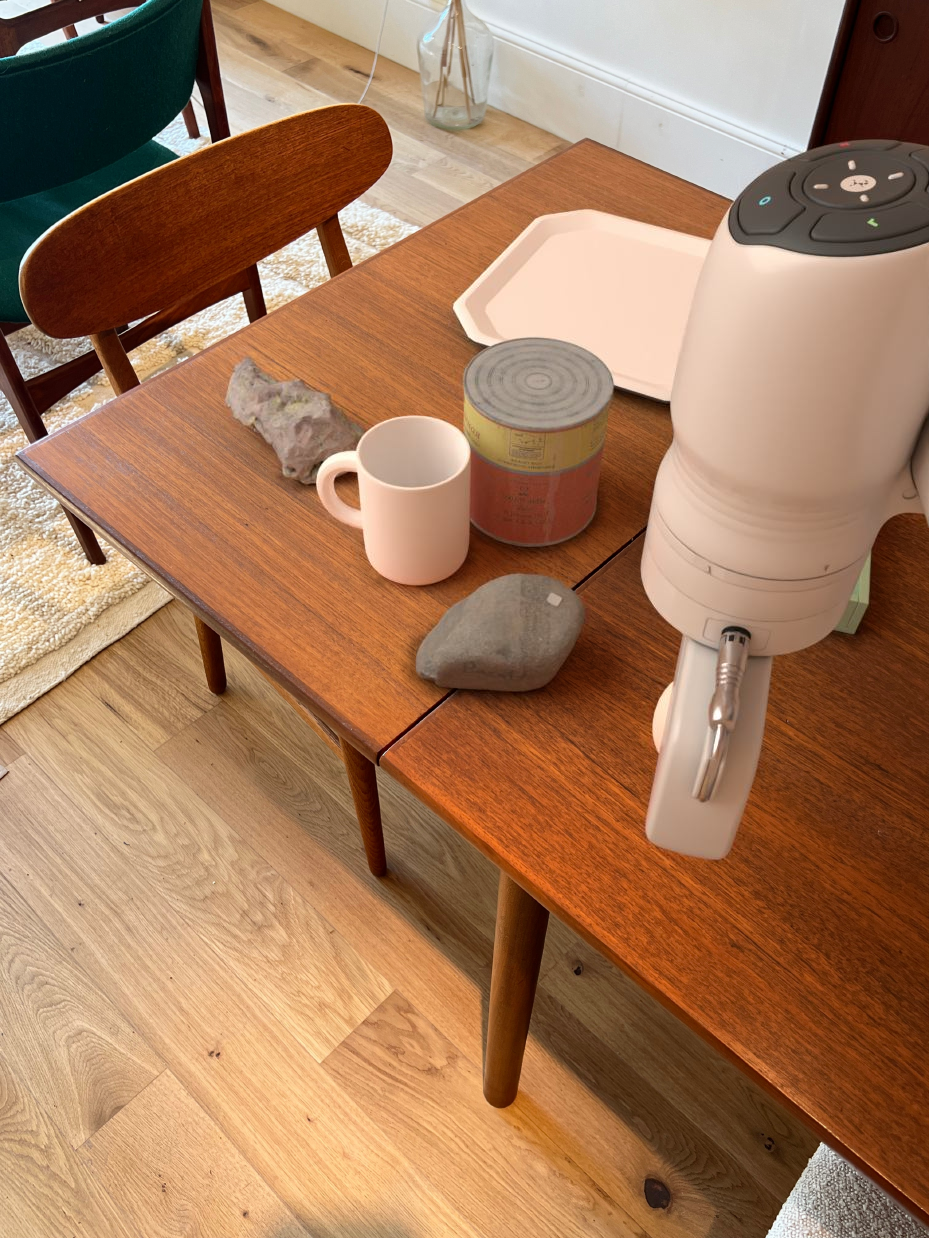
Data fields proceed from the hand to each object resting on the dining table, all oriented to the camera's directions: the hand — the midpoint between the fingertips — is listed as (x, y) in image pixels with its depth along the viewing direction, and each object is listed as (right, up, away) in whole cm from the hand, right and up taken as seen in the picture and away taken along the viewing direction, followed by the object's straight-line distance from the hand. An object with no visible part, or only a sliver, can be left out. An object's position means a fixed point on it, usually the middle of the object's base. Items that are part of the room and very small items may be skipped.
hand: (695, 736), depth 52 cm
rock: (-27, +21, +35) cm, 49 cm away
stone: (-10, +3, +20) cm, 23 cm away
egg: (0, -2, +2) cm, 2 cm away
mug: (-18, +12, +27) cm, 35 cm away
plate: (+4, +37, +50) cm, 62 cm away
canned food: (-7, +16, +31) cm, 36 cm away
